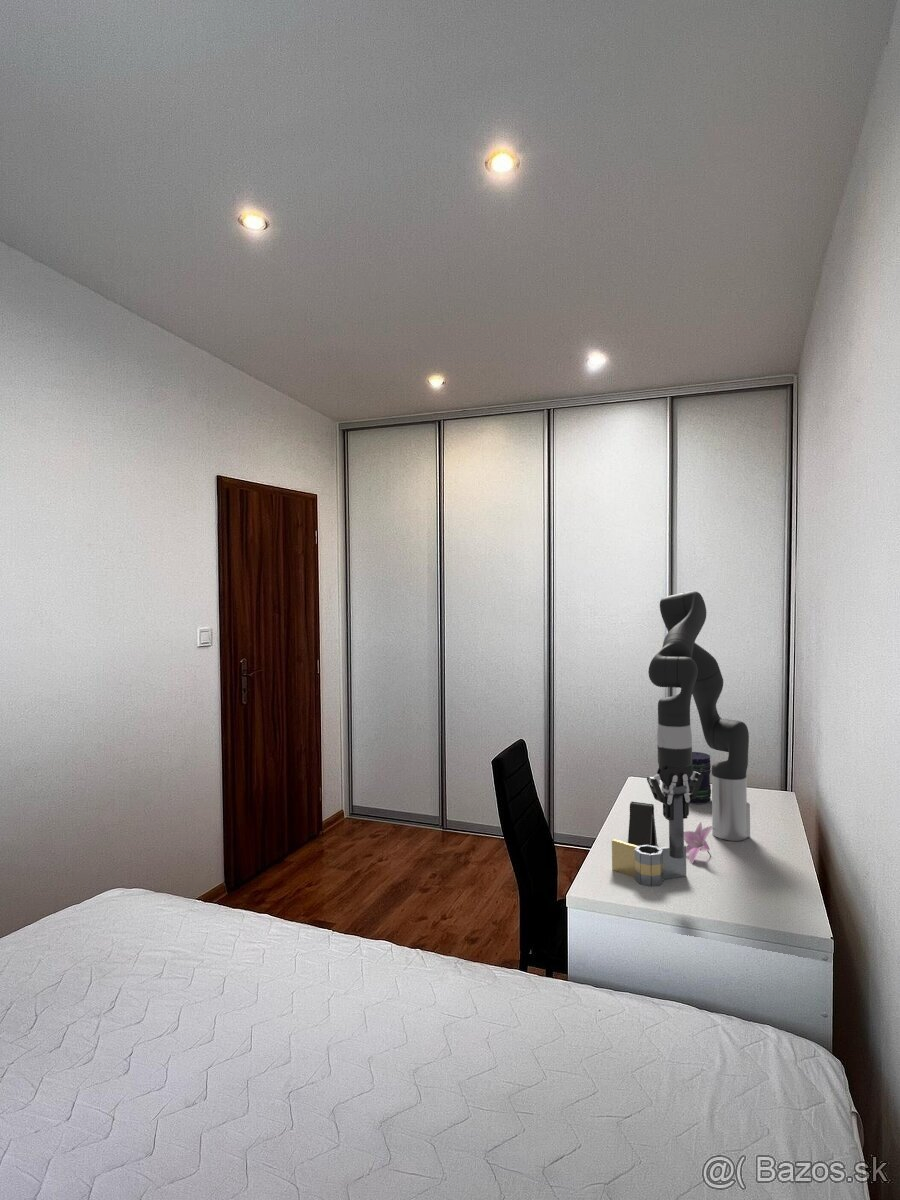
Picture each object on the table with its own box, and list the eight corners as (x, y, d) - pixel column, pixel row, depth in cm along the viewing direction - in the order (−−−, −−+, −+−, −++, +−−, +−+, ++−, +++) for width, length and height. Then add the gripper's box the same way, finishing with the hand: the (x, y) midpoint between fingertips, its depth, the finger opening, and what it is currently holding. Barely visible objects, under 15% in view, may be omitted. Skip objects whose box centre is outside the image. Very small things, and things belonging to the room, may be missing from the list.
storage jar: (707, 805, 220) (706, 760, 220) (676, 801, 226) (676, 756, 225) (714, 797, 229) (713, 753, 228) (684, 793, 234) (683, 750, 234)
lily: (684, 850, 186) (671, 824, 184) (723, 839, 182) (710, 813, 180) (688, 878, 175) (674, 851, 174) (730, 867, 172) (715, 840, 170)
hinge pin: (679, 850, 158) (678, 780, 158) (692, 858, 153) (690, 786, 153) (661, 853, 157) (660, 782, 156) (673, 861, 152) (672, 788, 152)
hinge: (664, 861, 176) (664, 833, 175) (692, 880, 164) (692, 849, 164) (611, 868, 172) (610, 839, 172) (635, 888, 160) (635, 857, 160)
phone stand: (649, 854, 181) (648, 809, 181) (627, 850, 184) (626, 806, 184) (657, 843, 189) (656, 800, 189) (635, 839, 192) (635, 797, 192)
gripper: (691, 737, 160) (692, 810, 160) (638, 742, 156) (639, 816, 157) (711, 744, 153) (712, 820, 153) (656, 749, 149) (657, 827, 149)
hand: (676, 818), depth 155 cm, fingers closed on hinge pin, 3 cm apart
